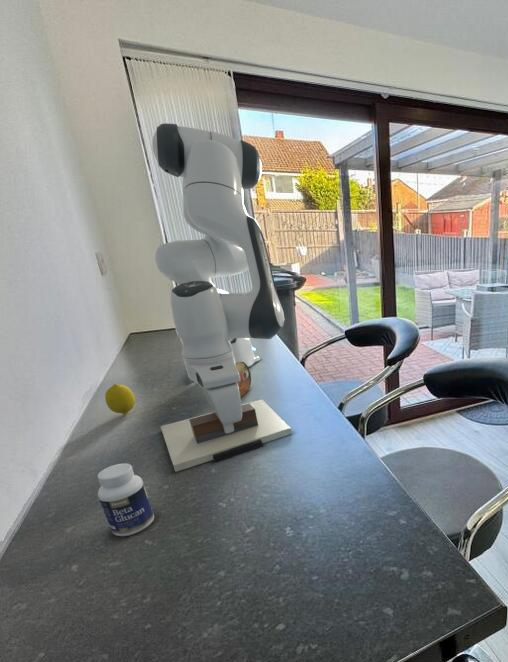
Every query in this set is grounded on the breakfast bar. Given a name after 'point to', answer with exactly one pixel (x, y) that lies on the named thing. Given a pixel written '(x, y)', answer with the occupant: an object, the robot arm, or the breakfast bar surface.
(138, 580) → the breakfast bar surface
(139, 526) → the pill bottle
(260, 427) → the memo board
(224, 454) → the stroke
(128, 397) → the lemon
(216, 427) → the eraser
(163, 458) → the breakfast bar surface
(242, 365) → the tin
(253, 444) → the stroke
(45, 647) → the breakfast bar surface
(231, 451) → the stroke
